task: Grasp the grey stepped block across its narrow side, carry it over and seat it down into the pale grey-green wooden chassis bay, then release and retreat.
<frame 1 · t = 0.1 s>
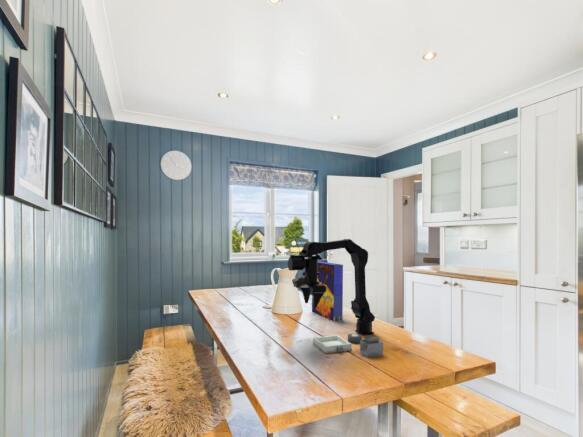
hand: (310, 305, 143), 15 cm above the table, fingers open, 9 cm apart
chassis bay: (331, 346, 133), on the table
spare wheel: (354, 341, 141), on the table
cereal box: (326, 316, 183), on the table
grey stepped block: (371, 354, 126), on the table
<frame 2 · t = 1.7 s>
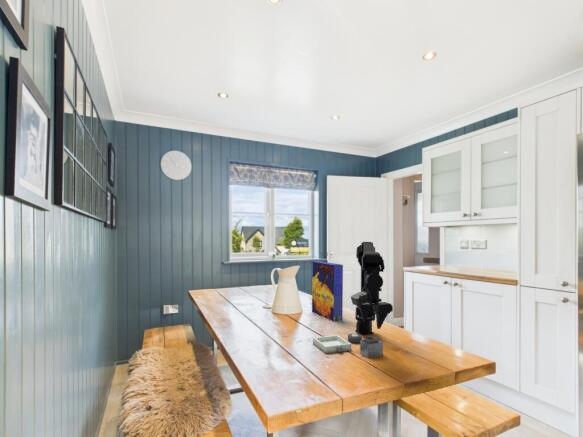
hand: (371, 325, 127), 11 cm above the table, fingers open, 9 cm apart
nothing on the table moved.
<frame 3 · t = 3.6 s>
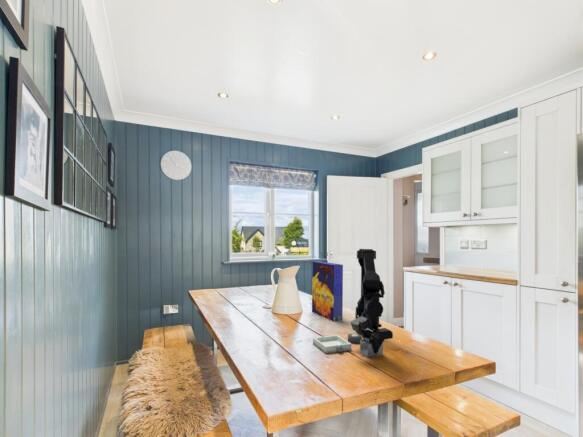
hand: (371, 350, 126), 1 cm above the table, fingers closed on grey stepped block, 5 cm apart
grey stepped block: (371, 354, 126), on the table, touching gripper
everything else where it was.
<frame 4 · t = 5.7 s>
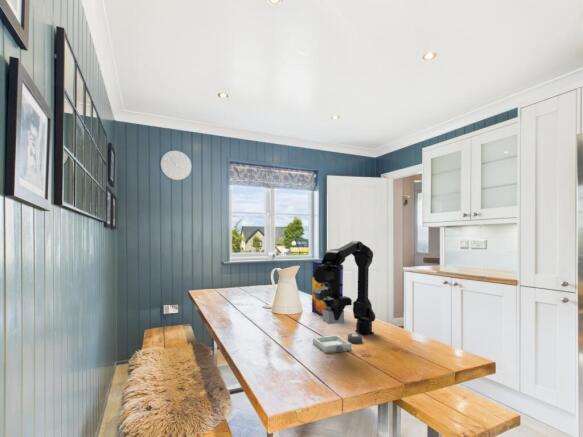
hand: (333, 318, 133), 12 cm above the table, fingers closed on grey stepped block, 5 cm apart
grey stepped block: (333, 321, 133), point 10 cm above the table, touching gripper
everything else where it was.
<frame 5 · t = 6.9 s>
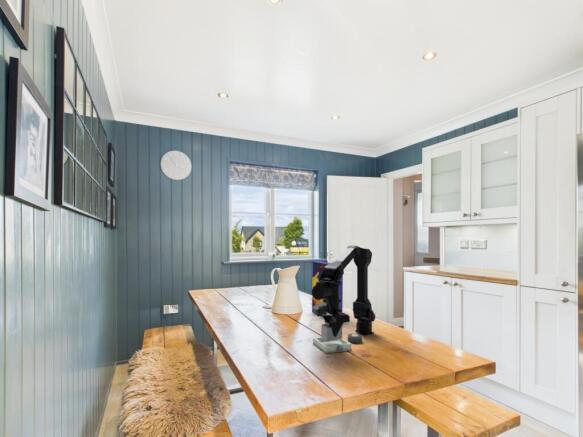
hand: (331, 334, 134), 5 cm above the table, fingers closed on grey stepped block, 5 cm apart
grey stepped block: (331, 337, 133), point 4 cm above the table, touching gripper
everything else where it was.
when the fingers open (4 cm above the table, at t = 8.0 s): grey stepped block drops 2 cm, resting on chassis bay.
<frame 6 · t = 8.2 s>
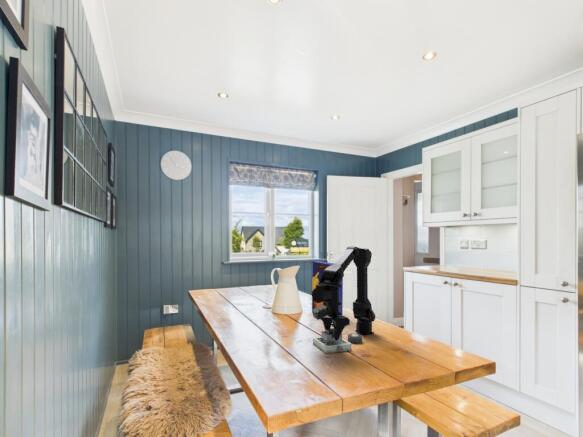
hand: (331, 337, 133), 4 cm above the table, fingers open, 7 cm apart
grey stepped block: (331, 344, 133), point 1 cm above the table, touching chassis bay
everything else where it was.
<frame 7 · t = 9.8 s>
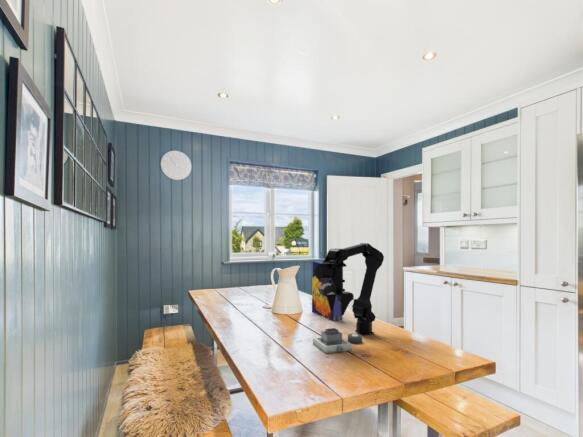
hand: (336, 312, 144), 12 cm above the table, fingers open, 9 cm apart
nothing on the table moved.
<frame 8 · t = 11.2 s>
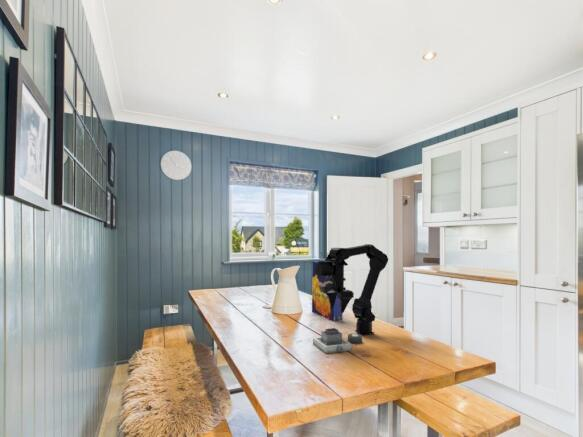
hand: (337, 310, 146), 12 cm above the table, fingers open, 9 cm apart
nothing on the table moved.
at the end: grey stepped block inside the target area on the chassis bay (0.0 cm from its centre), point 0.8 cm above the chassis bay's base; grey stepped block tilted 0°; the gripper is holding nothing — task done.
